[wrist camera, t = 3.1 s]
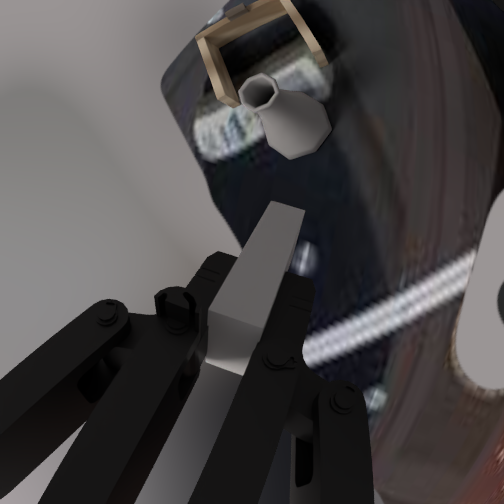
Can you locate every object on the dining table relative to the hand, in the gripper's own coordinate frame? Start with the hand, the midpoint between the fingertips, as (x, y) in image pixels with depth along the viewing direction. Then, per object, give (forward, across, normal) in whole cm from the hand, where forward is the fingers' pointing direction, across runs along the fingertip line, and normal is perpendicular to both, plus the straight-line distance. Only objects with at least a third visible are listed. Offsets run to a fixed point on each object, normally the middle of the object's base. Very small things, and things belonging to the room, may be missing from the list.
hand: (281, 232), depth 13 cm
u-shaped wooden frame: (+24, +9, -7) cm, 27 cm away
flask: (+20, +3, 0) cm, 20 cm away
